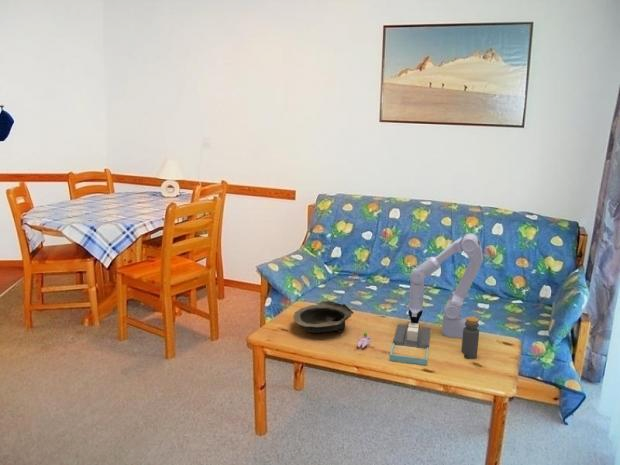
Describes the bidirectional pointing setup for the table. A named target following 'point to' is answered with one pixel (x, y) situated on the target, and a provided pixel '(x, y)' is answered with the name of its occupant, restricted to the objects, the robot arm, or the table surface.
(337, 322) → the stone bowl
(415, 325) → the cream cube block
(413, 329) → the beige cube
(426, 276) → the robot arm
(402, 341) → the slotted plate
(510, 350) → the table surface
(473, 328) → the bottle
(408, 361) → the tray
